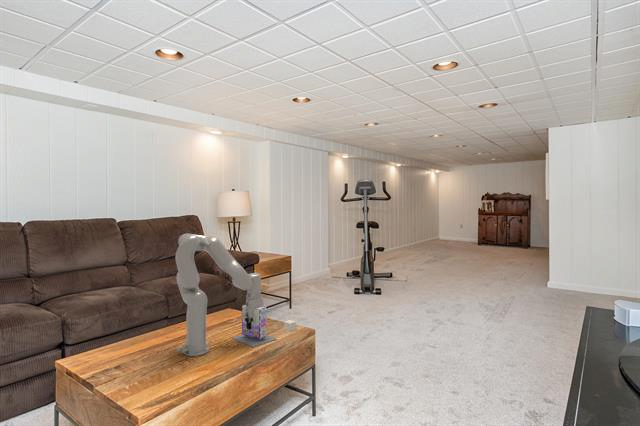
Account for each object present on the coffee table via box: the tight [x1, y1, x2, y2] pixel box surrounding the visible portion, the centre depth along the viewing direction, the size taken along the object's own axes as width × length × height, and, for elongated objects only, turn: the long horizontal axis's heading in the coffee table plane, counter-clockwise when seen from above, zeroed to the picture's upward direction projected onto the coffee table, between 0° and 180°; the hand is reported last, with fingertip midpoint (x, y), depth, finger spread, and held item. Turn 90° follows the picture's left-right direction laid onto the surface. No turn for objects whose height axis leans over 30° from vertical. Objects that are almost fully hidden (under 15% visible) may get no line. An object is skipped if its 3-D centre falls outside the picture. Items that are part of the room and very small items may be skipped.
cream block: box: [283, 319, 297, 333], centre depth 216 cm, size 5×5×5 cm
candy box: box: [241, 304, 268, 339], centre depth 200 cm, size 14×6×16 cm, turn 58°
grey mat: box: [231, 334, 278, 348], centre depth 200 cm, size 16×20×1 cm
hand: (253, 327), depth 200 cm, fingers closed on candy box, 6 cm apart
